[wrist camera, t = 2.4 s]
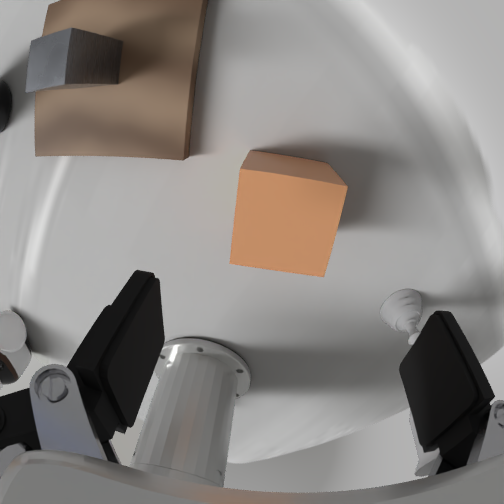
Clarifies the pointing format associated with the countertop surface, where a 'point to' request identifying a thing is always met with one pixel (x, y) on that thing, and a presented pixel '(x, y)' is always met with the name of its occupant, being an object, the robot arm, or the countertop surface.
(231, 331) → the countertop surface
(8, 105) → the supplement bottle
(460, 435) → the robot arm
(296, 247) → the peach colored cube
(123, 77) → the walnut board
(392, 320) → the chalice
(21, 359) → the spread jar
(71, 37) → the metal post
